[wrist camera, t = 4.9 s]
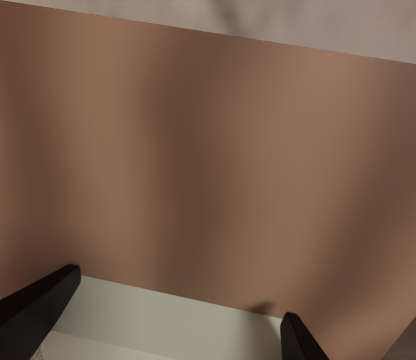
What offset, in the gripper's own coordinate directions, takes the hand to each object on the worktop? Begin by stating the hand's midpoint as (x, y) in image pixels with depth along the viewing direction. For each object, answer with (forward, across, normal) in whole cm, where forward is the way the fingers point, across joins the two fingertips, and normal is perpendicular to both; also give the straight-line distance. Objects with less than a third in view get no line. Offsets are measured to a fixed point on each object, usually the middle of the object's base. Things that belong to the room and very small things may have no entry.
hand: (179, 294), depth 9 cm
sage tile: (+1, 0, +4) cm, 4 cm away
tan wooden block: (+4, 0, -3) cm, 5 cm away
